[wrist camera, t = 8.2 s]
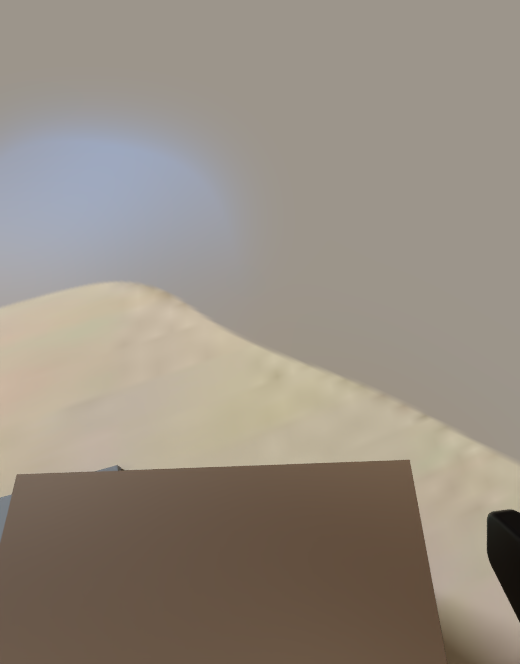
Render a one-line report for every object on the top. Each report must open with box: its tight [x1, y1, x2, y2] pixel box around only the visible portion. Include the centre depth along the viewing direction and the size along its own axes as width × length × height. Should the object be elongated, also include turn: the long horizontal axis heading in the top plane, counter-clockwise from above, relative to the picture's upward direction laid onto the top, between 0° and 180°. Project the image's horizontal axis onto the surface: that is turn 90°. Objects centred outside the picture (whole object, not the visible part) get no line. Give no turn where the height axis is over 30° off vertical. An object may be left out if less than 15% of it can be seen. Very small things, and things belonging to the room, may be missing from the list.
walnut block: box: [0, 460, 447, 664], centre depth 9 cm, size 4×4×12 cm
